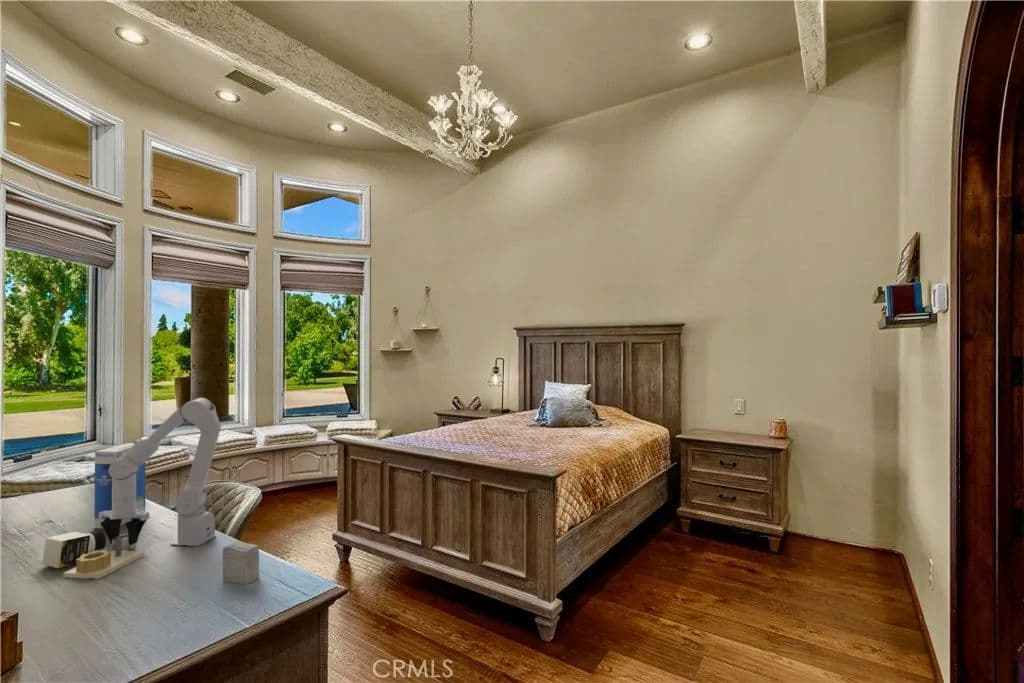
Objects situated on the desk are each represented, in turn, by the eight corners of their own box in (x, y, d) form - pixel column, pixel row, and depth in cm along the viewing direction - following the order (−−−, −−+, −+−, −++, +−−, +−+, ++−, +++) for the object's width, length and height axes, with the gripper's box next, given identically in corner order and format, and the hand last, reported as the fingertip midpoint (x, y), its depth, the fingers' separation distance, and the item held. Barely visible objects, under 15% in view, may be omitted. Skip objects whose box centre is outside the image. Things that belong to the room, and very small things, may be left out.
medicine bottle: (61, 541, 131) (110, 530, 142) (45, 537, 133) (95, 527, 145) (57, 568, 130) (107, 555, 141) (41, 564, 133) (92, 552, 144)
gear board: (143, 555, 140) (144, 536, 140) (98, 578, 126) (99, 557, 126) (111, 554, 141) (112, 535, 141) (63, 577, 127) (63, 556, 127)
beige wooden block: (259, 577, 127) (259, 544, 127) (245, 585, 123) (245, 551, 123) (237, 573, 130) (237, 540, 130) (222, 580, 125) (222, 547, 125)
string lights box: (126, 514, 174) (126, 442, 174) (147, 515, 173) (147, 443, 173) (93, 528, 160) (93, 451, 160) (115, 529, 160) (115, 451, 160)
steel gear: (140, 544, 147) (140, 533, 147) (124, 552, 142) (124, 540, 142) (122, 544, 148) (122, 532, 148) (106, 552, 142) (106, 540, 142)
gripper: (89, 501, 142) (88, 547, 141) (135, 502, 140) (135, 549, 140) (110, 493, 149) (110, 538, 148) (155, 495, 147) (154, 539, 147)
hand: (123, 543), depth 145 cm, fingers closed on steel gear, 5 cm apart
